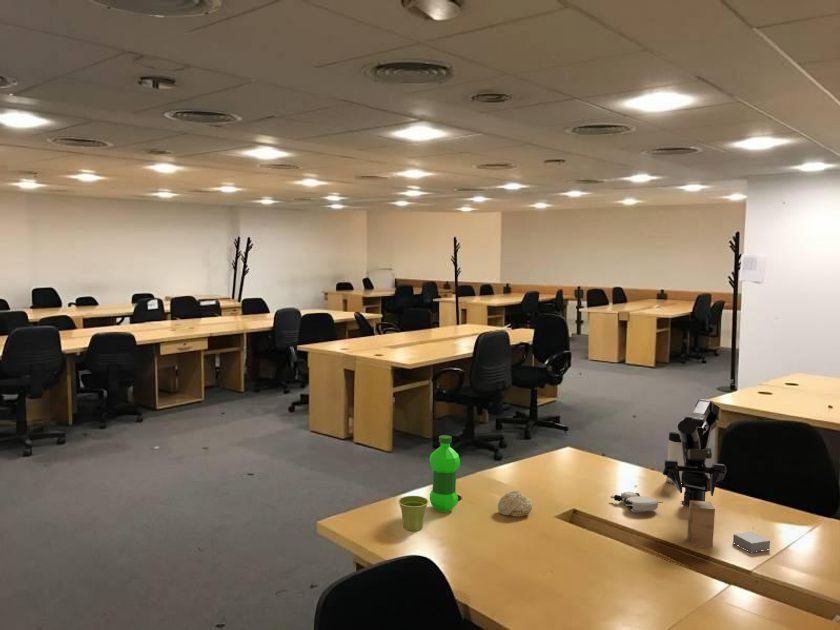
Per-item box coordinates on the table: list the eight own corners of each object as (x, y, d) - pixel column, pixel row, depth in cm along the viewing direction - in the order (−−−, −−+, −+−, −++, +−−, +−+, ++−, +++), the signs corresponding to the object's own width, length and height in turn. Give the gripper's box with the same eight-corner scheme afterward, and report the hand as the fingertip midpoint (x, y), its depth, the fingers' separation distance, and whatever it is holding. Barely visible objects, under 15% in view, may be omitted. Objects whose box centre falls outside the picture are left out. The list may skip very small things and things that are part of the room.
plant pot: (424, 535, 205) (425, 507, 204) (394, 531, 207) (395, 504, 206) (430, 523, 214) (431, 497, 213) (401, 520, 216) (402, 494, 215)
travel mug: (665, 483, 258) (667, 432, 257) (667, 478, 264) (670, 429, 262) (682, 486, 255) (685, 435, 254) (684, 481, 261) (687, 431, 259)
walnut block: (687, 537, 208) (689, 500, 207) (707, 539, 207) (710, 502, 206) (691, 545, 202) (693, 507, 201) (712, 547, 201) (715, 509, 200)
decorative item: (519, 511, 215) (497, 491, 221) (512, 531, 219) (490, 510, 225) (542, 498, 223) (521, 479, 229) (535, 517, 227) (514, 498, 233)
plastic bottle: (463, 512, 224) (466, 439, 222) (434, 516, 220) (436, 442, 218) (451, 501, 233) (453, 431, 231) (423, 505, 230) (425, 434, 227)
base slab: (750, 540, 207) (751, 531, 206) (769, 550, 200) (770, 540, 200) (733, 543, 204) (733, 534, 204) (751, 553, 198) (751, 543, 197)
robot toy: (608, 504, 238) (633, 517, 223) (608, 491, 237) (633, 503, 223) (637, 501, 241) (664, 513, 227) (637, 488, 241) (664, 500, 227)
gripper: (665, 435, 216) (669, 479, 206) (727, 439, 212) (734, 485, 203) (660, 452, 224) (664, 495, 214) (719, 457, 221) (726, 501, 211)
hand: (696, 494), depth 210 cm, fingers open, 9 cm apart
